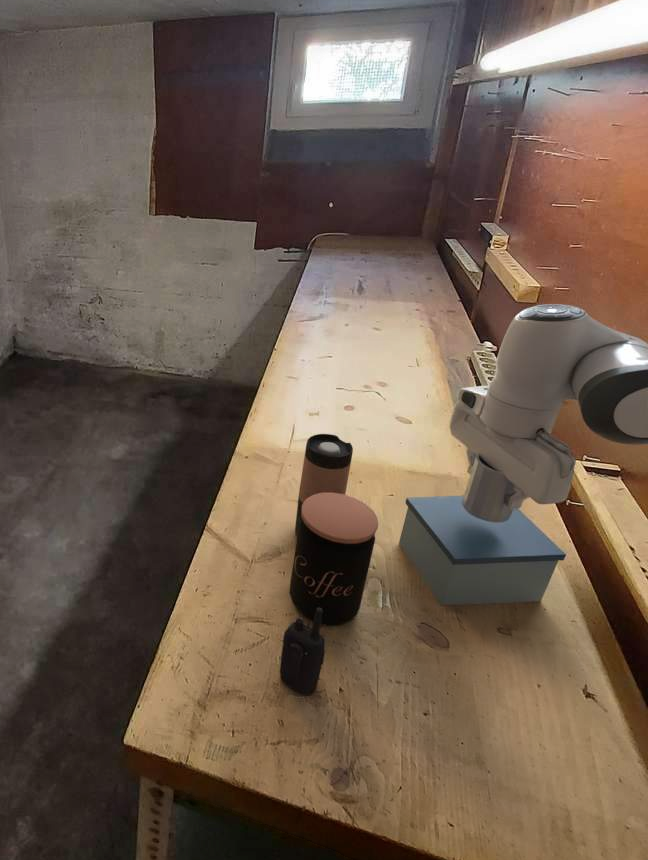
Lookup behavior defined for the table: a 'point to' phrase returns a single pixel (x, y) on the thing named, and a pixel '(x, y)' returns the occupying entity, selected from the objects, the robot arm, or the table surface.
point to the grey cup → (487, 493)
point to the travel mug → (324, 468)
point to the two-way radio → (302, 655)
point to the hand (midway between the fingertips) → (491, 490)
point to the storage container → (476, 553)
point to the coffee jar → (332, 557)
